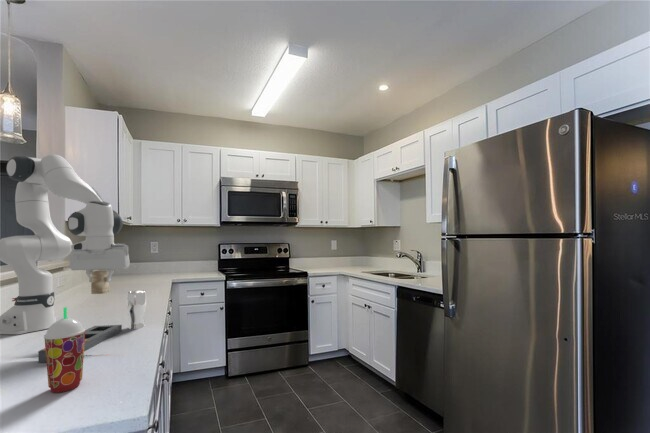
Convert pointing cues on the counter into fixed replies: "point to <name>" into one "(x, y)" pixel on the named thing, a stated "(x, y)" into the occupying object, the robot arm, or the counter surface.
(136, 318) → the beer glass
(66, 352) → the smoothie
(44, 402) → the counter surface
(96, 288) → the beech peg
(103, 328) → the socket rail
